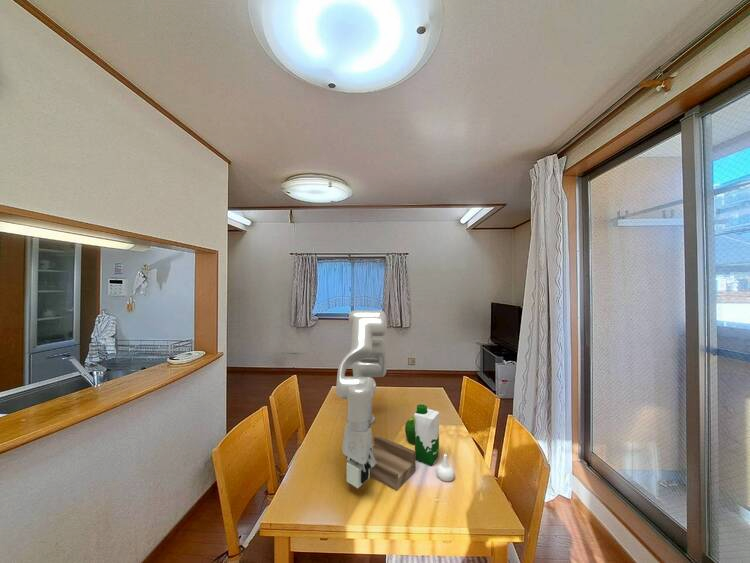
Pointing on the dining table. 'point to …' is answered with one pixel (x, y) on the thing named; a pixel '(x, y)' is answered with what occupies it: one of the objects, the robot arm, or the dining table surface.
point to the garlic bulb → (445, 470)
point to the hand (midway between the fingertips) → (358, 476)
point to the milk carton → (426, 435)
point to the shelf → (392, 462)
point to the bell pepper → (410, 430)
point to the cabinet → (354, 473)
